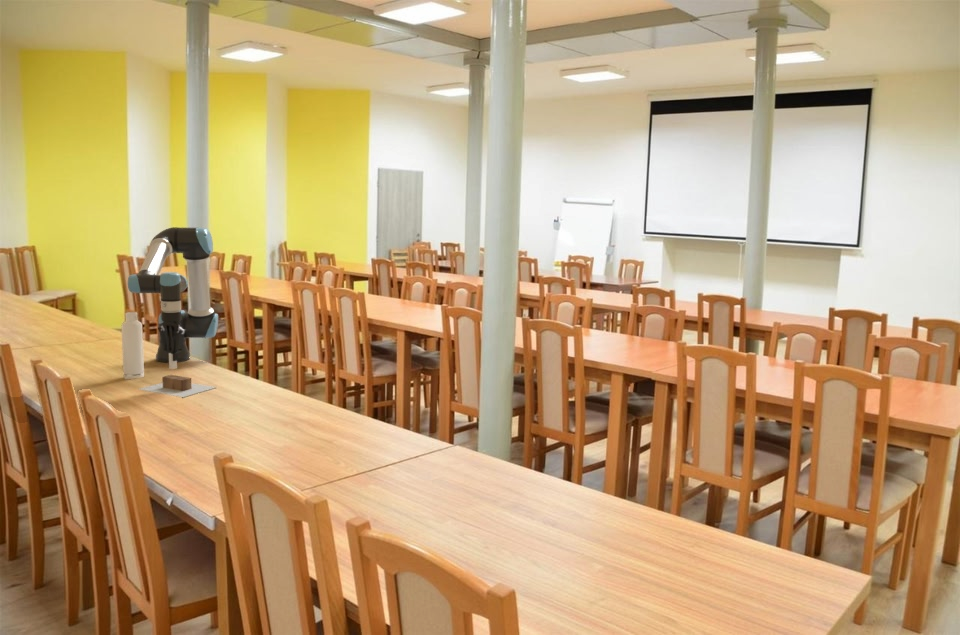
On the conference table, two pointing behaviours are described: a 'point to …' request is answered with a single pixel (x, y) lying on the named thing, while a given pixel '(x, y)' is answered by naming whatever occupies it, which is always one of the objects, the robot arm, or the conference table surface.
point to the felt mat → (195, 390)
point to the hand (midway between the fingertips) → (173, 368)
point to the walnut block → (177, 382)
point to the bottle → (132, 347)
